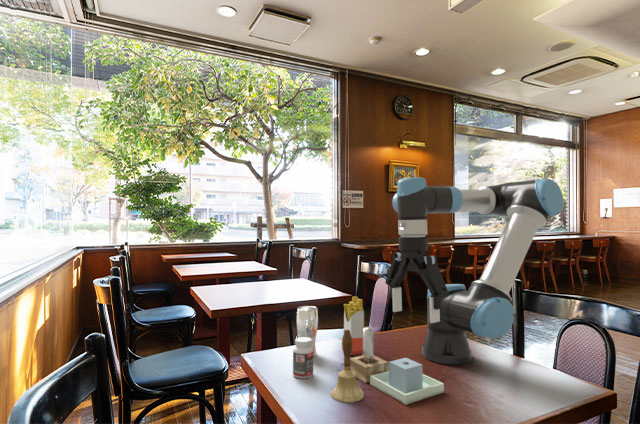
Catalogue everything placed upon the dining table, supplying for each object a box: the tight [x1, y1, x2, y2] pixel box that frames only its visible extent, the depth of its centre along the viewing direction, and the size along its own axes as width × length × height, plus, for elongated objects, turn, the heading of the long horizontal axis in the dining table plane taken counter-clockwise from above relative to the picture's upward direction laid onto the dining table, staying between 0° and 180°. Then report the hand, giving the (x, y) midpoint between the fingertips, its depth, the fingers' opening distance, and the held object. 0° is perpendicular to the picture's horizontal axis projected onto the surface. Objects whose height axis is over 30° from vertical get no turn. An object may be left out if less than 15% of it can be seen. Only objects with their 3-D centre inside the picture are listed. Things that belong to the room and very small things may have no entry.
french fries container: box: [343, 296, 365, 357], centre depth 125 cm, size 5×11×18 cm, turn 9°
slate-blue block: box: [388, 357, 424, 394], centre depth 98 cm, size 6×6×6 cm
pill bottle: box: [292, 337, 314, 379], centre depth 106 cm, size 6×6×10 cm
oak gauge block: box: [350, 354, 389, 384], centre depth 107 cm, size 8×8×4 cm
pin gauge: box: [362, 326, 375, 364], centre depth 107 cm, size 3×3×13 cm
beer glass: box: [296, 305, 319, 358], centre depth 123 cm, size 7×7×15 cm
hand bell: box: [330, 330, 365, 404], centre depth 94 cm, size 8×8×16 cm
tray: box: [369, 371, 445, 406], centre depth 98 cm, size 13×13×2 cm
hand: (415, 316), depth 100 cm, fingers open, 13 cm apart
